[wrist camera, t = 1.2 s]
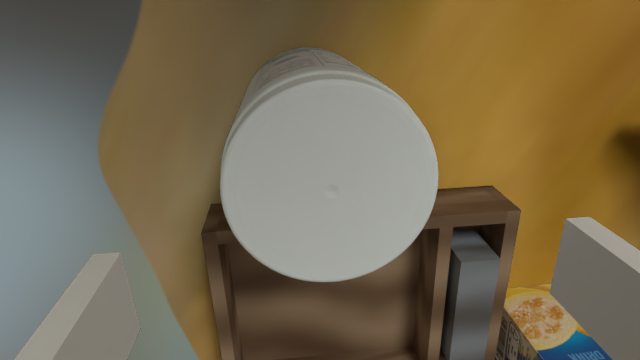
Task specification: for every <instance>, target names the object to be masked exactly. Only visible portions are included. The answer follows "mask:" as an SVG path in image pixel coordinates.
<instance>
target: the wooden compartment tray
mask: <svg viewBox="0 0 640 360" xmlns="http://www.w3.org/2000/svg"><path fill="white" fill-rule="evenodd" d="M520 213H521V210H520V209H519V208H518V207H517V206H515V205H514V204H513V203H512V202H511V201H510V200H508V199H507V198H506V197H505V196H504V195H503V194H501V193H500V192H499V191H498V190H497V189H495V188H494V187H493V186H479V187H464V188H449V189H437V194H436V199H435V203H434V206H433V209H432V211H431V214H430V216H429V219H428V220H427V222H426V224H425V226H424V228H423V229H422V231H421V232H420V234H419V235H418V236H417V238H416V239H415V240H414V241H413V243H412V244H411V245H410V246H409V247H408V248H407V249H406V250H405V251H404V252H403V253H402V254H400V255H399V256H398V257H397V258H395V259H394V260H393V261H391V262H390V263H388V264H386V265H385V266H383V267H381V268H380V269H378V270H375V271H373V272H371V273H369V274H366V275H363V276H361V277H357V278H354V279H349V280H344V281H337V282H311V281H303V280H299V279H295V278H291V277H288V276H285V275H282V274H280V273H278V272H276V271H274V270H271V269H270V268H268V267H267V266H265V265H263V264H262V263H260V262H259V261H258V260H256V259H255V258H254V257H253V256H252V255H251V254H250V253H249V252H248V251H247V250H246V249H245V248H244V247H243V246H242V245H241V244H240V242H239V241H238V240H237V238H236V237H235V235H234V234H233V232H232V230H231V228H230V226H229V224H228V222H227V219H226V217H225V214H224V210H223V207H222V204H211V206H210V209H209V212H208V215H207V218H206V221H205V224H204V227H203V230H202V232H201V234H202V240H203V246H204V252H205V259H206V265H207V271H208V277H209V283H210V289H211V295H212V301H213V308H214V314H215V320H216V326H217V332H218V338H219V344H220V350H221V357H222V360H495V354H496V348H497V343H498V337H499V331H500V326H501V320H502V315H503V309H504V303H505V298H506V292H507V286H508V281H509V275H510V270H511V264H512V258H513V253H514V247H515V242H516V236H517V230H518V225H519V219H520Z"/></svg>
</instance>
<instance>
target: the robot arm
mask: <svg viewBox="0 0 640 360" xmlns="http://www.w3.org/2000/svg"><path fill="white" fill-rule="evenodd" d="M549 293H550V294H551V295H552V296H553V297H554V298H555V299H556V300H557V301H558V302H559V303H560V305H561V306H562V307H563V308H564V309H565V310H566V311H567V312H568V313H569V314H570V315H571V316H572V317H573V318H574V319H575V320H576V321H577V323H578V324H579V325H580V326H581V327H582V328H583V329H584V330H585V331H586V332H587V333H588V334H589V335H590V336H591V337H592V338H593V339H594V341H595V342H596V343H597V344H598V345H599V346H600V347H601V348H602V349H603V350H604V351H605V352H606V353H607V354H608V355H609V356H610V357H611V359H612V360H640V251H639V250H638V249H636V248H635V247H633V246H632V245H631V244H629V243H628V242H626V241H625V240H623V239H622V238H620V237H619V236H617V235H616V234H614V233H613V232H611V231H610V230H608V229H607V228H605V227H604V226H602V225H601V224H599V223H598V222H597V221H595V220H594V219H592V218H591V217H581V218H568V219H566V220H565V224H564V229H563V233H562V238H561V242H560V247H559V251H558V256H557V260H556V265H555V269H554V274H553V278H552V283H551V287H550V292H549ZM140 329H141V328H140V324H139V320H138V316H137V312H136V309H135V305H134V301H133V297H132V293H131V289H130V285H129V281H128V277H127V273H126V270H125V265H124V262H123V258H122V254H121V252H116V253H104V254H93V255H92V256H91V258H90V259H89V260H88V262H87V263H86V264H85V266H84V267H83V268H82V270H81V271H80V272H79V274H78V275H77V276H76V278H75V279H74V280H73V282H72V283H71V284H70V286H69V287H68V288H67V290H66V291H65V292H64V294H63V295H62V296H61V298H60V299H59V300H58V301H57V303H56V304H55V306H54V307H53V308H52V309H51V311H50V312H49V314H48V315H47V316H46V317H45V319H44V320H43V322H42V323H41V324H40V326H39V327H38V328H37V330H36V331H35V332H34V333H33V335H32V336H31V337H30V339H29V340H28V341H27V343H26V344H25V345H24V347H23V348H22V349H21V351H20V352H19V353H18V355H17V356H16V357H15V359H14V360H128V357H129V355H130V352H131V350H132V348H133V345H134V343H135V341H136V339H137V336H138V334H139V332H140Z"/></svg>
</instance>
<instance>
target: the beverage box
mask: <svg viewBox="0 0 640 360" xmlns="http://www.w3.org/2000/svg"><path fill="white" fill-rule="evenodd" d="M550 287H551V283H550V284H542V285H534V286H526V287H518V288H510V289H507V292H506V298H505V303H504V309H503V315H502V320H501V326H500V331H499V337H498V343H497V348H496V354H495V360H612V359H611V357H610V356H609V355H608V354H607V353H606V352H605V351H604V350H603V349H602V348H601V347H600V346H599V345H598V344H597V343H596V342H595V341H594V339H593V338H592V337H591V336H590V335H589V334H588V333H587V332H586V331H585V330H584V329H583V328H582V327H581V326H580V325H579V324H578V323H577V321H576V320H575V319H574V318H573V317H572V316H571V315H570V314H569V313H568V312H567V311H566V310H565V309H564V308H563V307H562V306H561V305H560V303H559V302H558V301H557V300H556V299H555V298H554V297H553V296H552V295H551V294H550V293H549V292H550Z"/></svg>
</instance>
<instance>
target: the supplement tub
mask: <svg viewBox="0 0 640 360" xmlns="http://www.w3.org/2000/svg"><path fill="white" fill-rule="evenodd" d="M437 188H438V163H437V157H436V153H435V149H434V146H433V143H432V141H431V138H430V136H429V134H428V132H427V130H426V128H425V127H424V125H423V124H422V122H421V121H420V119H419V118H418V117H417V116H416V114H415V113H414V112H413V110H412V109H411V107H410V106H409V105H408V104H407V103H406V102H405V101H404V100H403V99H402V98H401V97H400V96H399V95H398V94H397V93H395V92H394V91H393V90H391V89H390V88H389V87H387V86H386V85H385V84H383V83H382V82H380V81H379V80H377V79H376V78H374V77H373V76H371V75H370V74H368V73H367V72H365V71H364V70H362V69H361V68H359V67H358V66H356V65H354V64H353V63H351V62H350V61H348V60H347V59H345V58H344V57H342V56H340V55H338V54H336V53H334V52H331V51H328V50H324V49H319V48H310V47H307V48H297V49H293V50H289V51H286V52H283V53H281V54H279V55H277V56H275V57H274V58H272V59H271V60H269V61H268V62H267V63H265V64H264V65H263V66H262V67H261V68H260V69H259V70H258V71H257V73H256V74H255V75H254V77H253V78H252V80H251V82H250V84H249V86H248V88H247V90H246V93H245V95H244V98H243V100H242V103H241V105H240V107H239V110H238V113H237V115H236V118H235V120H234V122H233V125H232V127H231V130H230V132H229V135H228V137H227V140H226V143H225V147H224V151H223V154H222V160H221V175H220V195H221V202H222V207H223V210H224V214H225V217H226V219H227V222H228V224H229V226H230V228H231V230H232V232H233V234H234V235H235V237H236V238H237V240H238V241H239V242H240V244H241V245H242V246H243V247H244V248H245V249H246V250H247V251H248V252H249V253H250V254H251V255H252V256H253V257H254V258H255V259H256V260H258V261H259V262H260V263H262V264H263V265H265V266H267V267H268V268H270V269H271V270H274V271H276V272H278V273H280V274H282V275H285V276H288V277H291V278H295V279H299V280H303V281H311V282H337V281H344V280H349V279H354V278H357V277H361V276H363V275H366V274H369V273H371V272H373V271H375V270H378V269H380V268H381V267H383V266H385V265H386V264H388V263H390V262H391V261H393V260H394V259H395V258H397V257H398V256H399V255H400V254H402V253H403V252H404V251H405V250H406V249H407V248H408V247H409V246H410V245H411V244H412V243H413V241H414V240H415V239H416V238H417V236H418V235H419V234H420V232H421V231H422V229H423V228H424V226H425V224H426V222H427V220H428V219H429V216H430V214H431V211H432V209H433V206H434V203H435V199H436V194H437Z"/></svg>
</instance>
